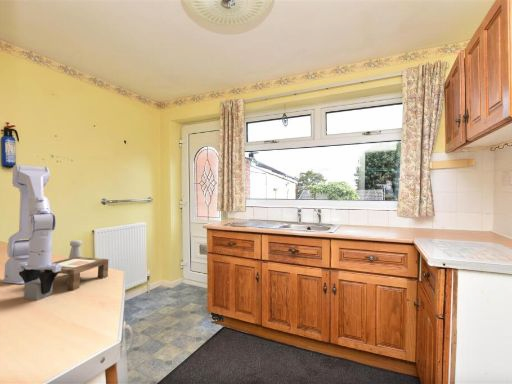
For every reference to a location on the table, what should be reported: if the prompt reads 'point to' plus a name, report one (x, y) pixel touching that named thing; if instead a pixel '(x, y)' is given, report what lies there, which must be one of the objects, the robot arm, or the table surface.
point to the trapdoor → (75, 263)
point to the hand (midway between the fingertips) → (38, 292)
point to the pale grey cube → (35, 290)
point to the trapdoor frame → (75, 272)
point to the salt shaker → (75, 248)
